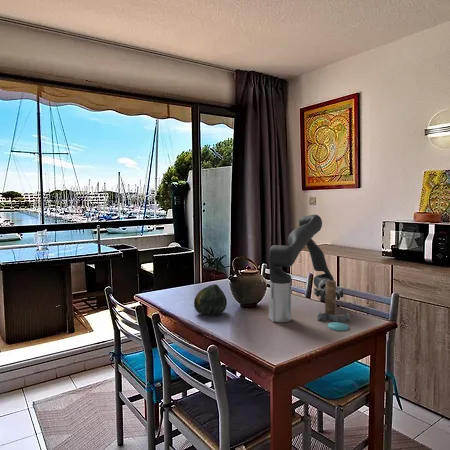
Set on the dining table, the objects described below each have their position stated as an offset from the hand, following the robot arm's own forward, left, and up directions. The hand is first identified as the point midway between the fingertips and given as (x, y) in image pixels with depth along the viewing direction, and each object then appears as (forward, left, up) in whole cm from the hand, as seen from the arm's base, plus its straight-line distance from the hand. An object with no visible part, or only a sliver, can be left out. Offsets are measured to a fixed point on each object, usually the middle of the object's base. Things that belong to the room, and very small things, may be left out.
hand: (331, 296), depth 174 cm
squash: (-52, +17, -10) cm, 56 cm away
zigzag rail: (-1, -4, -10) cm, 10 cm away
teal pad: (-3, -13, -10) cm, 16 cm away
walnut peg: (+1, +2, -10) cm, 10 cm away
